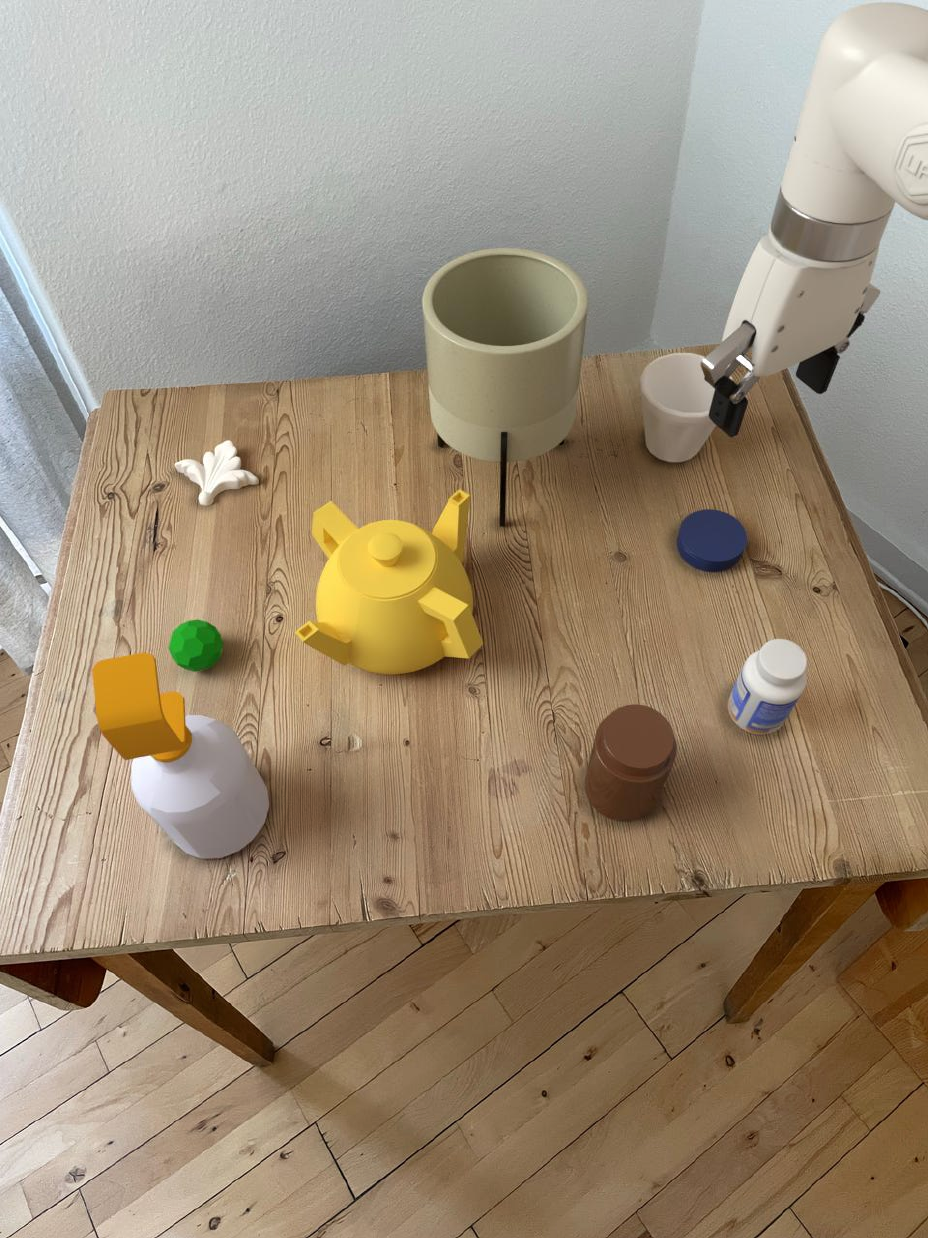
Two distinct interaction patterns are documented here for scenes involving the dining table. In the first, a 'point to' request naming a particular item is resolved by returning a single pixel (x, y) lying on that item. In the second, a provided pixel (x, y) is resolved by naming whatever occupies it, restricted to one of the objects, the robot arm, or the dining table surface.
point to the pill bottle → (768, 687)
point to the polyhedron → (196, 645)
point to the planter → (504, 354)
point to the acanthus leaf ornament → (217, 472)
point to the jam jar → (630, 762)
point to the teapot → (393, 591)
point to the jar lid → (711, 540)
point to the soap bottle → (179, 760)
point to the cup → (676, 406)
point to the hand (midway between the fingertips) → (767, 405)
